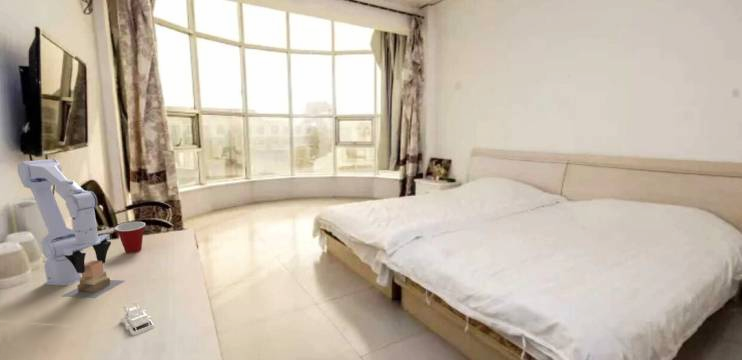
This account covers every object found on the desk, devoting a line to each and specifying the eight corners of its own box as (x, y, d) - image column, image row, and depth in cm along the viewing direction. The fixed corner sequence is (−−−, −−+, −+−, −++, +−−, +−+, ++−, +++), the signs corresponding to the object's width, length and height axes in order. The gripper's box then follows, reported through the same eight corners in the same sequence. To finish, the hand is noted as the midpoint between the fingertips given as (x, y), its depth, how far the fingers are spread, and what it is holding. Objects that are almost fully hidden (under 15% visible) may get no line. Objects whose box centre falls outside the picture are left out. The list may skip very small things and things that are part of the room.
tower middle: (80, 284, 112) (78, 277, 112) (93, 277, 117) (92, 270, 116) (93, 285, 112) (92, 277, 111) (106, 278, 116) (105, 271, 116)
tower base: (78, 291, 112) (77, 284, 112) (94, 283, 118) (93, 276, 117) (94, 292, 111) (93, 285, 111) (110, 284, 117) (109, 277, 117)
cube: (93, 277, 112) (91, 265, 111) (82, 276, 112) (80, 265, 111) (103, 271, 116) (102, 260, 115) (93, 271, 116) (91, 260, 115)
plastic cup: (121, 258, 141) (117, 230, 139) (115, 251, 148) (112, 225, 146) (151, 250, 149) (148, 224, 147) (144, 244, 156) (141, 219, 154)
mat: (61, 296, 109) (61, 296, 109) (94, 279, 121) (94, 279, 121) (94, 298, 108) (94, 297, 108) (125, 281, 120) (125, 280, 120)
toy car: (131, 337, 89) (129, 322, 88) (118, 320, 97) (116, 306, 96) (157, 327, 94) (155, 313, 93) (143, 311, 101) (141, 298, 101)
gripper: (75, 236, 104) (82, 277, 106) (115, 222, 118) (120, 259, 120) (54, 235, 104) (61, 276, 107) (97, 222, 119) (102, 258, 121)
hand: (91, 267), depth 113 cm, fingers open, 7 cm apart
